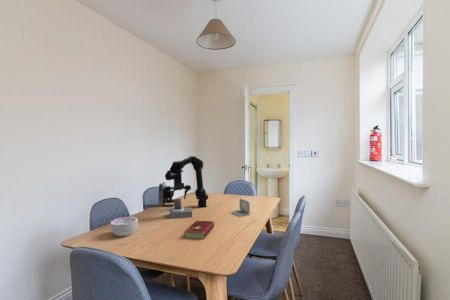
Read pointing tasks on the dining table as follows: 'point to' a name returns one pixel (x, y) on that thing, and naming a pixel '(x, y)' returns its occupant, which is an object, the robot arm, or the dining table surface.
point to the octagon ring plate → (180, 212)
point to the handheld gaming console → (243, 208)
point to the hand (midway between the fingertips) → (178, 199)
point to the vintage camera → (164, 195)
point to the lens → (177, 203)
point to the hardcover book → (199, 229)
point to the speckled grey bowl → (123, 226)
